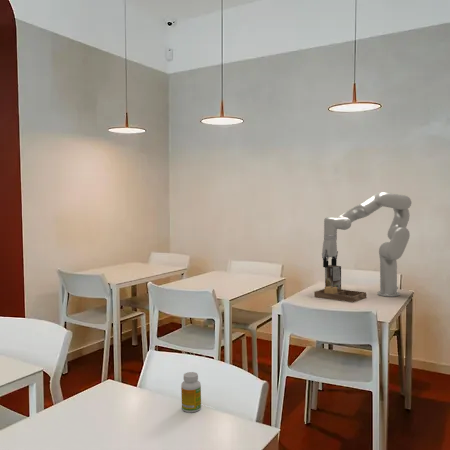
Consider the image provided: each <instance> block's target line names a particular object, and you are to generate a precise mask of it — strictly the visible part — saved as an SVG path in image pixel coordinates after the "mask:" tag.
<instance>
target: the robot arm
mask: <svg viewBox="0 0 450 450" xmlns="http://www.w3.org/2000/svg"><path fill="white" fill-rule="evenodd" d="M411 206H412V199H411V198H410V196H408V195H406V194H398V193H392V192H387V191H378V192H376V193H375V194H373V195H372V196H370V197H369V198H367V199H366V200H365V199H364V201H362V202H361V203H359V204H357V205H355V206H354V207H353V208H350V209H349V210H346V211H344V213H342V214H340V215H339V216H337V217H333V216H330V217H329V216H328V217H327V216H326V217H324V221H323V243H322V253H321V256H322V262H323V263H322V267H323V268H325V267H327V268H328V265H329V259H330V258H331V264H330V265H332V266H336V265H337V264H338V262H337V259H338V254H339V251H338V245H337V244H338V243H337V242H338V239H337V238H338V230H344V231H345V230H348V229H350V228H351V227H352V223H354V222H355V221H357V220H360V219H364V218H366V217H368V216H370V215H372V214H373V213H374V212H376V211H377V210H380V208H382V207H385V208H389V209H390V208H391V209H393V211H394V213H393V218H392V219H393V220H392V221H391V224H390V226H389V228H388V230H387V234H386V235H387V238H388V239H389V240H390V241H385V242H383V243H382V244H381V245H380V246H379V248H378V255H379V278H380V279H379V290H378V291H377V295H378V296H381V297H389V298H390V297H393V298H394V297H398V296H400V292H399V291H398V289H399V287H398V262H397V260H399V259H401V257H402V256H403V254H404V252H405V249H406V247H407V244H408V243H409V239H410V236H411V235H410V231H409V229H408V228H407V226H408V224H409V221H410V211H409V208H410V207H411ZM337 266H338V265H337Z"/></svg>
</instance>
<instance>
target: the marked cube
mask: <svg viewBox="0 0 450 450" xmlns="http://www.w3.org/2000/svg"><path fill="white" fill-rule="evenodd" d="M324 289H325V293H329V294H335V293H337V287H334V286H327V287H325V286H324Z"/></svg>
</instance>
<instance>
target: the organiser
mask: <svg viewBox="0 0 450 450" xmlns="http://www.w3.org/2000/svg"><path fill="white" fill-rule="evenodd" d="M313 296H314V298H320V299H327V300H335V301H341V302H346V303H347V302H348V303H355V302H358V301H361V300H363V299H366V298H367V291H366V292H365V291H356V290H351V289H350V290H349V289H342V288H341V289H337V293H335V294H329V293H325V288H323V289H320V290H316V291H314V292H313Z"/></svg>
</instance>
